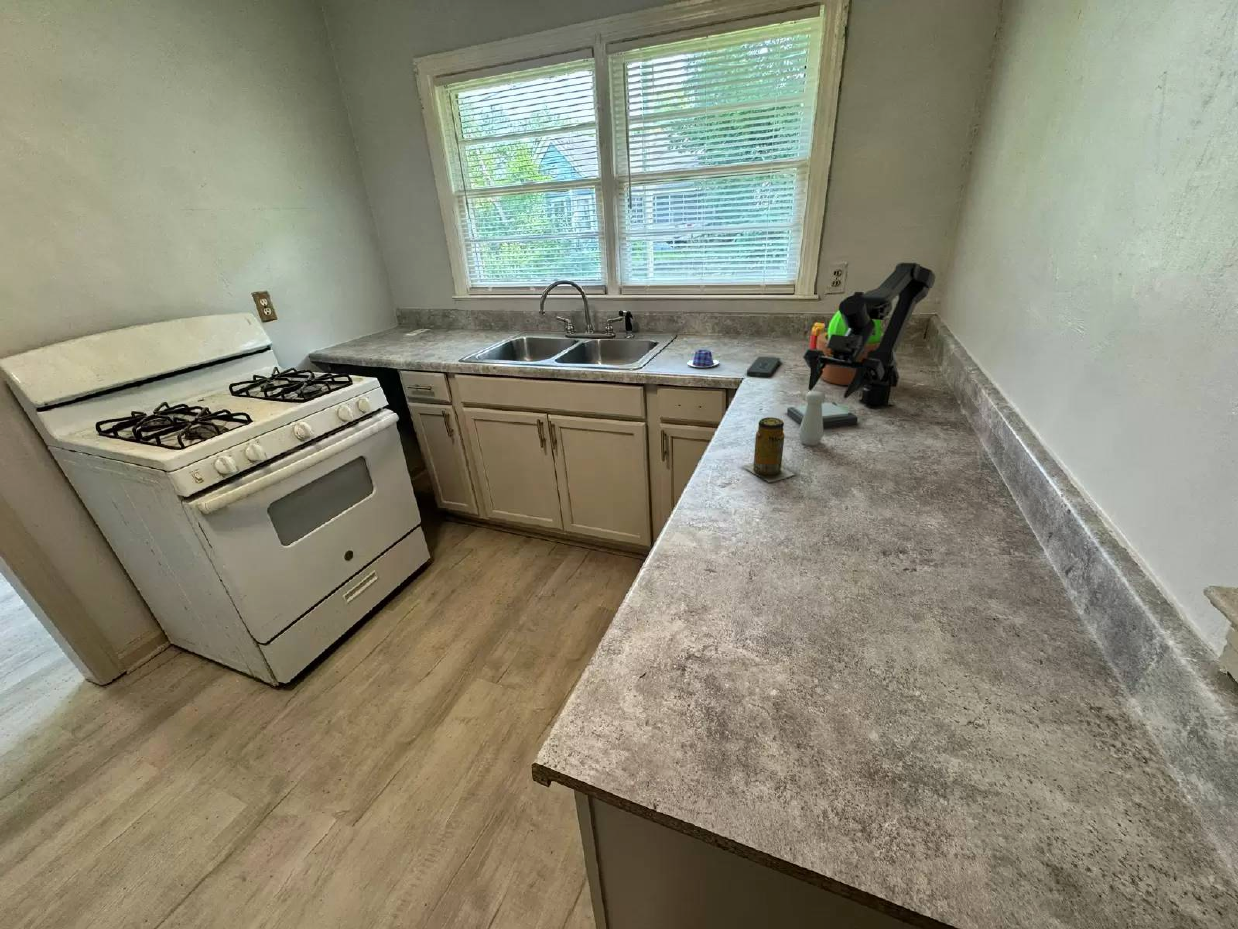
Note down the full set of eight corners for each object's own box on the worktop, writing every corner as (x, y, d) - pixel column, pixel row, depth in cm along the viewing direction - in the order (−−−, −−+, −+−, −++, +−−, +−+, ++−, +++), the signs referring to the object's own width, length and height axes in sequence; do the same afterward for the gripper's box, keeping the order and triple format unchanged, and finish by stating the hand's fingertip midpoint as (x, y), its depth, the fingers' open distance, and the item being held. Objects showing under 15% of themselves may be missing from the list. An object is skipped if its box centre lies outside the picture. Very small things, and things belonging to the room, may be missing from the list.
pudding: (723, 361, 192) (724, 348, 189) (711, 370, 183) (711, 356, 181) (695, 359, 198) (695, 346, 196) (682, 367, 189) (682, 353, 187)
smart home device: (746, 370, 174) (758, 356, 190) (745, 375, 175) (758, 360, 191) (770, 372, 171) (780, 357, 186) (769, 377, 171) (780, 361, 187)
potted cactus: (811, 386, 161) (820, 306, 149) (814, 367, 178) (823, 295, 167) (886, 390, 153) (902, 307, 141) (882, 370, 171) (896, 294, 159)
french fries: (808, 354, 193) (812, 321, 187) (819, 355, 192) (824, 321, 186) (809, 361, 186) (813, 326, 180) (821, 361, 184) (825, 326, 178)
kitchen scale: (832, 408, 142) (834, 399, 141) (856, 424, 132) (858, 414, 130) (786, 414, 141) (787, 404, 140) (807, 430, 130) (808, 420, 129)
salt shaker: (823, 447, 121) (830, 396, 115) (799, 446, 122) (804, 396, 116) (820, 437, 126) (826, 388, 120) (796, 437, 127) (801, 388, 121)
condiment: (768, 460, 116) (773, 413, 111) (795, 475, 109) (800, 425, 104) (744, 468, 113) (747, 420, 108) (769, 483, 107) (773, 432, 101)
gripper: (811, 316, 123) (782, 369, 122) (888, 324, 110) (856, 384, 109) (823, 341, 131) (796, 391, 130) (896, 352, 118) (867, 408, 117)
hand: (826, 393), depth 121 cm, fingers open, 9 cm apart
